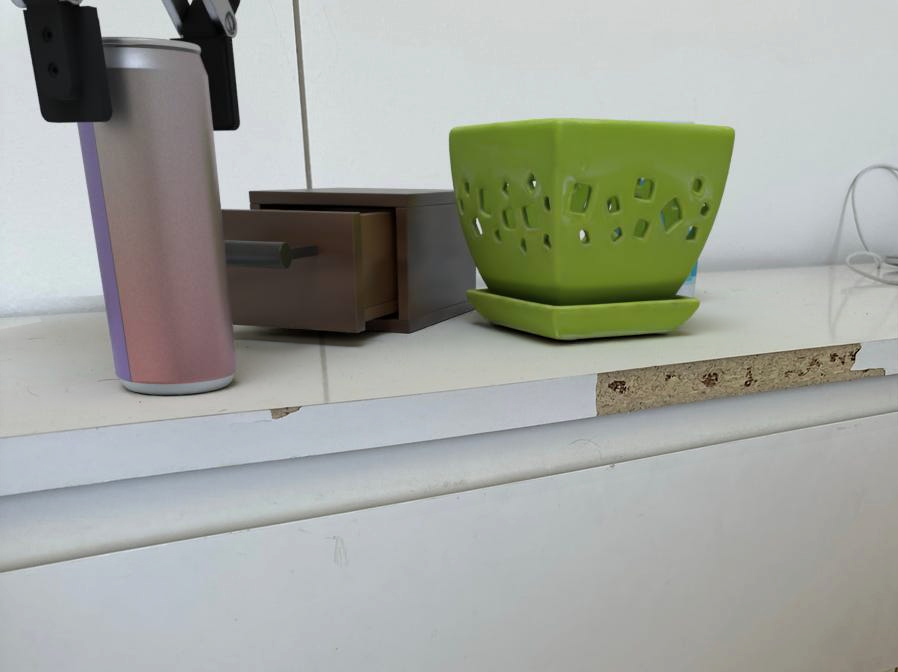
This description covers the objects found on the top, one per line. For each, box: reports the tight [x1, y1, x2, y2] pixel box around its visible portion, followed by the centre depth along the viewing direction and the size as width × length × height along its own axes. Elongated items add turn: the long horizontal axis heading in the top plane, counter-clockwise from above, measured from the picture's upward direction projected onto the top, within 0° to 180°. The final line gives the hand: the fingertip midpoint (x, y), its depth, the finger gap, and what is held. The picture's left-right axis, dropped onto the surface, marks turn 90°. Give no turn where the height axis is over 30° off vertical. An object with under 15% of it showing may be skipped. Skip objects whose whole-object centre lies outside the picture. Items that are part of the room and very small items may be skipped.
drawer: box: [221, 206, 399, 334], centre depth 63 cm, size 17×10×7 cm, turn 161°
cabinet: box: [248, 187, 477, 334], centre depth 71 cm, size 14×12×9 cm
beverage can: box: [76, 36, 238, 396], centre depth 47 cm, size 6×6×15 cm
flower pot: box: [448, 117, 736, 341], centre depth 65 cm, size 14×14×13 cm
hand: (150, 126), depth 45 cm, fingers open, 9 cm apart
